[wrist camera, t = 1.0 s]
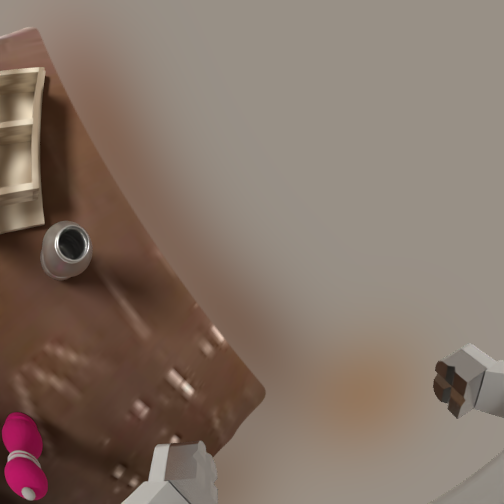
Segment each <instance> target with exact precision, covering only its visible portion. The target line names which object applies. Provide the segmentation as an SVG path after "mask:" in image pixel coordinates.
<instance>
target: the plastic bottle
mask: <svg viewBox="0 0 504 504" xmlns="http://www.w3.org/2000/svg"><path fill="white" fill-rule="evenodd" d="M91 258H92V243H91V240H90V237H89V235H88V234H87V232H86V231H85V230H84V228H82V227H81V226H80V225H78V224H77V223H74V222H71V221H61V222H58V223H56V224H54V225H53V226H51V227H50V228H49V229H48V231H47V232H46V234H45V236H44V239H43V243H42V251H41V255H40V260H41V265H42V268H43V270H44V271H45V273H46V274H47V275H48V276H49V277H51V278H53V279H55V280H61V281H62V280H66V279H69V278H70V277H73V276H77V275H79V274H81V273H82V272H83V271H84V270H85V269H86V268H87V267H88V265H89V263H90V261H91Z"/></svg>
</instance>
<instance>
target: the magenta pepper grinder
mask: <svg viewBox="0 0 504 504" xmlns="http://www.w3.org/2000/svg"><path fill="white" fill-rule="evenodd" d="M2 439H3V442H4V445H5V447H6V449H7V450H8V451H9V453H10V454H9V456H8V462H7V464H6V466H5V478H6V481H7V483H8V485H9V486H10V488H11V489H12V490H13V491H14V492H15V493H16V494H18V495H19V496H21V497H23V498H25V499H27V500H30V501H31V500H39V499H41V498H43V497H44V496H45V495H46V493H47V490H48V482H47V478H46V476H45V474H44V472H43V471H42V470H41V466H40V463H39V462H38V460H37V459H38V458H39V457H40V455H41V453H42V449H43V443H42V438H41V435H40V433H39V432H38V429H37V426H36V424H35V422H34V421H33V420H32V419H31V418H30V417H29V416H27V415H26V414H23V413H20V412H15V413H11V414H10V415H8V417H7V418H6V422H5V424H4V426H3V428H2Z"/></svg>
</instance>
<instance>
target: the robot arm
mask: <svg viewBox="0 0 504 504" xmlns="http://www.w3.org/2000/svg"><path fill="white" fill-rule="evenodd" d="M435 371H436V372H437V373H438V374H437V376H436V377H435V379H434V385H433V388H434V392H435V395H436V396H437V398H438V399H439V400H440V401H441V402H444V403H448V410H449V411H450V412H451V413H452V414H453V415H454V416H455V417H456V418H457V419H458V418H460V417H462V416H463V415H464V414H466V413H468V412H469V411H471V410H472V409H474V408H475V409H476V410H480V411H482V412H486V413H489V414H492V415H495V416H499V417H502V418H504V361H502V360H499V361H498V362H497V361H495V360H494V359H492V358H491V357H490V356H488V355H487V354H485V353H484V352H483V351H481V350H480V349H478V348H477V347H475V346H474V345H473V344H469V343H468V344H466V345H465V346H463V347H462V348H460V349H458V350H457V351H455V352H453V353H452V354H450V355H448V356H446V357H445V358H443V359H441V360H440V361H438V362H437V364H436V369H435ZM216 480H217V470H216V465H215V462H214V460H213V458H212V456H211V455H210V454H208V453H206V446H205V445H204V443H203V442H202V441H193V442H183V443H171V444H158V445H157V446H156V447H155V449H154V454H153V459H152V464H151V469H150V474H149V479H148V481H146V482H143V483H142V484H141V485H140V486H139V487H138V488H137V489H136V490H135V491H134V492H133V493H132V494H131V495H130V496H129V497H128V498H127V499H126V500H124V501H123V502H122V503H121V504H218V489H217V487H216V486H215V485H214V482H215V481H216ZM428 504H504V450H503V451H502V452H500V453H499V454H498V455H497V456H496V457H495V458H493V459H492V460H491V461H490V462H488V463H487V464H486V465H485V466H483V467H482V468H481V469H480V470H478V471H477V472H475V473H474V474H473V475H472V476H470V477H469V478H467V479H466V480H465V481H463V482H462V483H460V484H459V485H457V486H456V487H454V488H453V489H451V490H450V491H448V492H446V493H445V494H443V495H441V496H440V497H438V498H437V499H435V500H433V501H431V502H430V503H428Z"/></svg>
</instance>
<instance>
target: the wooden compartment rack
mask: <svg viewBox="0 0 504 504" xmlns="http://www.w3.org/2000/svg"><path fill="white" fill-rule="evenodd" d="M44 79H45V71H44V67H39V68H25V69H14V70H5V71H0V234H3V233H8V232H12V231H17V230H22V229H27V228H32V227H37V226H43V225H44V224H45V223H44V214H43V204H42V192H41V174H40V125H41V108H42V96H43V87H44Z"/></svg>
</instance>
